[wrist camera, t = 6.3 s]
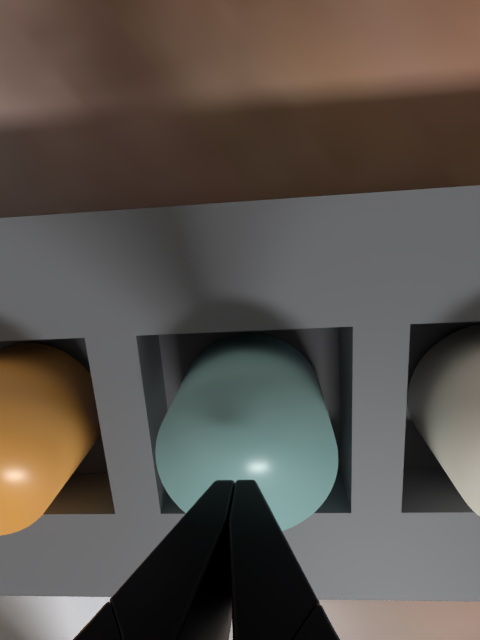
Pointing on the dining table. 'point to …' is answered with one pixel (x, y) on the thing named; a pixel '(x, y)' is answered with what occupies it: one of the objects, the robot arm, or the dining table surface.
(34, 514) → the orange button
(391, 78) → the dining table surface
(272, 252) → the panel
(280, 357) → the teal button
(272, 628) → the robot arm
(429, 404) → the ivory button
